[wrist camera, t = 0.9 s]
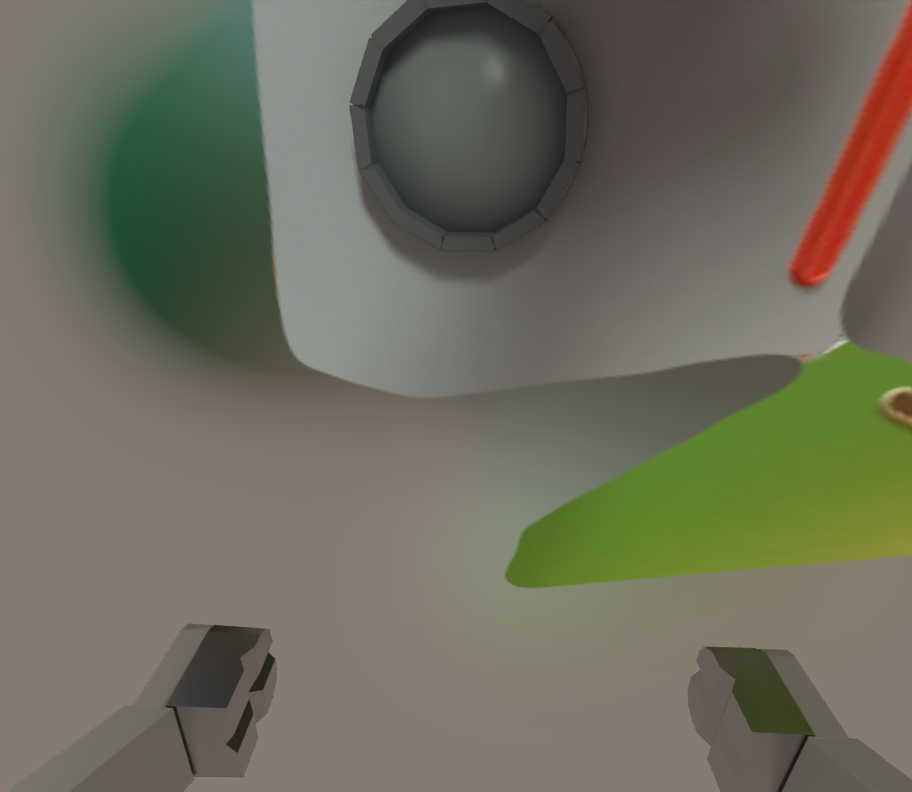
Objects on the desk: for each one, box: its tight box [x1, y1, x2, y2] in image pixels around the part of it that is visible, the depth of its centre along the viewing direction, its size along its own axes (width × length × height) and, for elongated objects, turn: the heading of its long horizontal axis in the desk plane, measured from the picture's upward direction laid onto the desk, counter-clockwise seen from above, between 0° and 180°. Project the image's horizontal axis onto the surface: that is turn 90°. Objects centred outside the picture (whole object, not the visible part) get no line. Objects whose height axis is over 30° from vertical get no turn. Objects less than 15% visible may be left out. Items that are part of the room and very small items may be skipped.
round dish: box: [349, 0, 587, 251], centre depth 40 cm, size 18×18×2 cm
